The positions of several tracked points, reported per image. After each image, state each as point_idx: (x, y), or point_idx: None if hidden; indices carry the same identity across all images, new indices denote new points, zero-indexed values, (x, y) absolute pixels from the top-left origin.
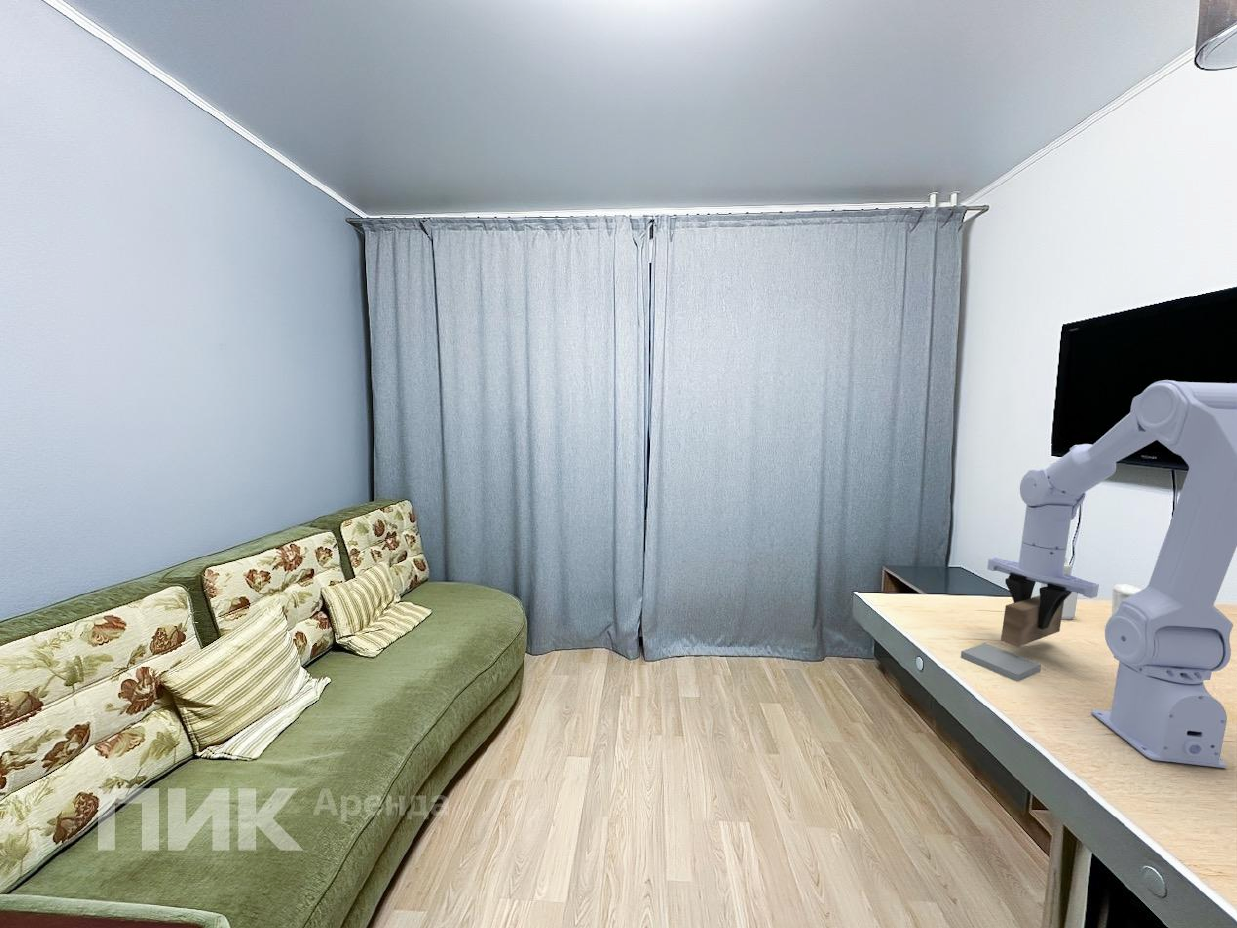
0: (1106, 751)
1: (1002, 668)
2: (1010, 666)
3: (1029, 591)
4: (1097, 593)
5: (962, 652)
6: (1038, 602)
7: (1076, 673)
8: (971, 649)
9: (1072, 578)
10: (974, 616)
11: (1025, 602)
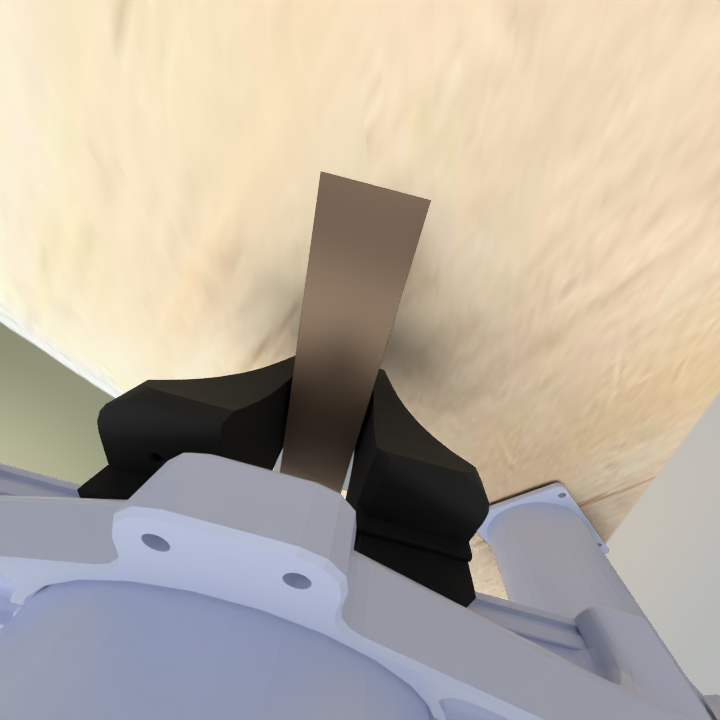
0: (472, 571)
1: (343, 489)
2: (350, 475)
3: (268, 428)
4: (664, 651)
5: (276, 469)
6: (332, 438)
7: (452, 383)
8: (281, 453)
9: (525, 692)
10: (159, 150)
11: (298, 476)
